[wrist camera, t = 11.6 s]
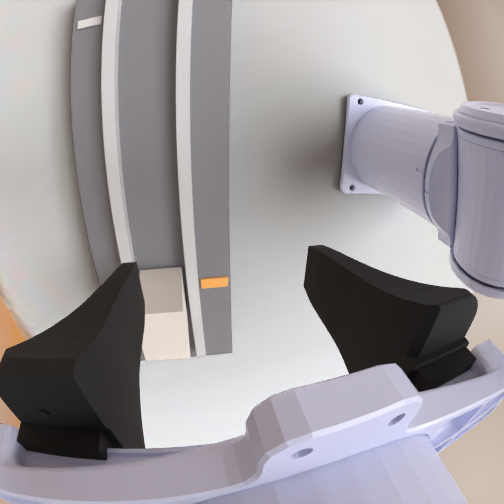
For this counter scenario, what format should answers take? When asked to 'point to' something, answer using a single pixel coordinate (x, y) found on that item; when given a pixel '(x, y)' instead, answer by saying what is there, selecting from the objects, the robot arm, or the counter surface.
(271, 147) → the counter surface
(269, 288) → the counter surface
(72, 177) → the counter surface
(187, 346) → the fader tab
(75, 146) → the fader track
